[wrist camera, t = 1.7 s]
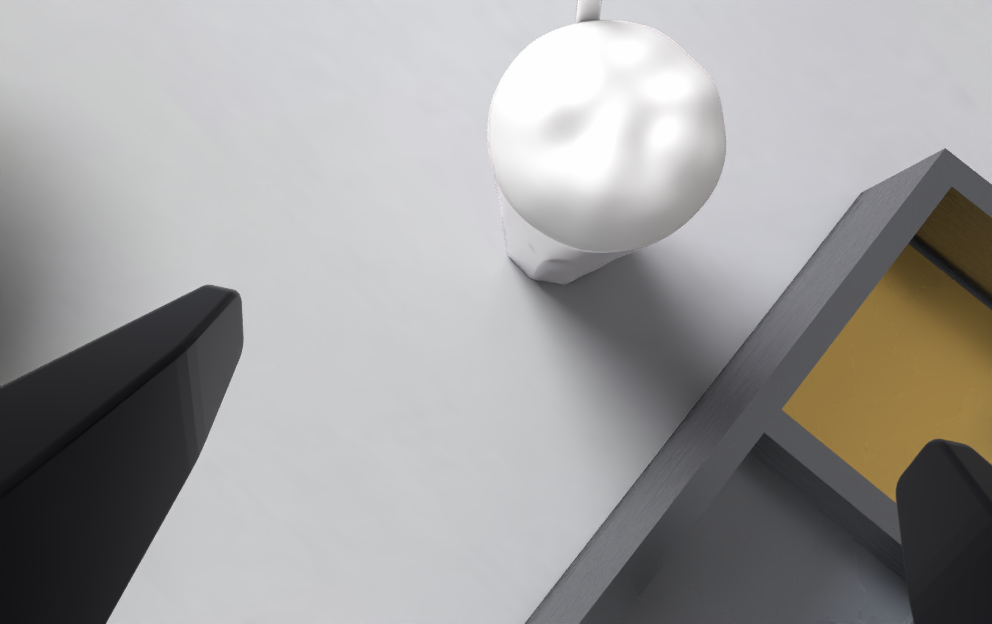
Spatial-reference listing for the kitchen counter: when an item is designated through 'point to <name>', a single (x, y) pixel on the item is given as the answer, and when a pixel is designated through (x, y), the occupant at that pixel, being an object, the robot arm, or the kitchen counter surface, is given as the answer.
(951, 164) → the rack
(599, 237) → the milkshake
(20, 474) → the robot arm
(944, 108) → the kitchen counter surface
